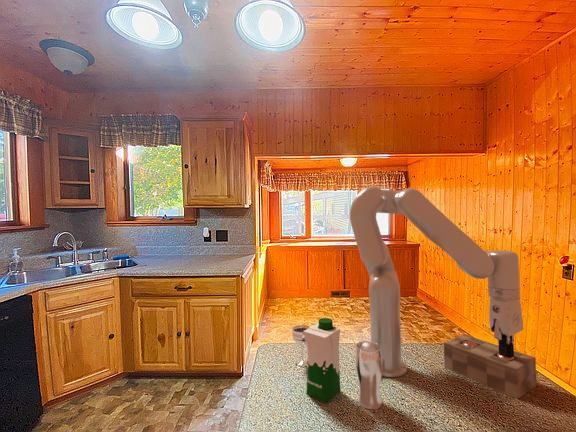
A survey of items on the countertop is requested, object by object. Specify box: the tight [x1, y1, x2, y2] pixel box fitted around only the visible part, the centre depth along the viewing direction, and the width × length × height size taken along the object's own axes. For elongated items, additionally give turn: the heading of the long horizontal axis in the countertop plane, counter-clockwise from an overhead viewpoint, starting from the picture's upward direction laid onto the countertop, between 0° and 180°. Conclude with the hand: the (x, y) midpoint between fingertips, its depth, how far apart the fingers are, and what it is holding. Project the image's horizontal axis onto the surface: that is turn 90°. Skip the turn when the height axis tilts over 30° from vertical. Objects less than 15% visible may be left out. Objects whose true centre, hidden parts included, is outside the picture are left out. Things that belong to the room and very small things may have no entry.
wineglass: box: [291, 324, 310, 366], centre depth 99 cm, size 7×7×12 cm
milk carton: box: [303, 317, 341, 404], centre depth 82 cm, size 9×9×20 cm
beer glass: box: [354, 340, 383, 410], centre depth 77 cm, size 7×7×15 cm
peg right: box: [497, 353, 514, 361], centre depth 84 cm, size 4×4×8 cm
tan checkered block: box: [443, 334, 537, 400], centre depth 89 cm, size 12×20×8 cm, turn 30°
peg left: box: [463, 341, 477, 348], centre depth 93 cm, size 4×4×8 cm
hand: (506, 355), depth 84 cm, fingers closed
